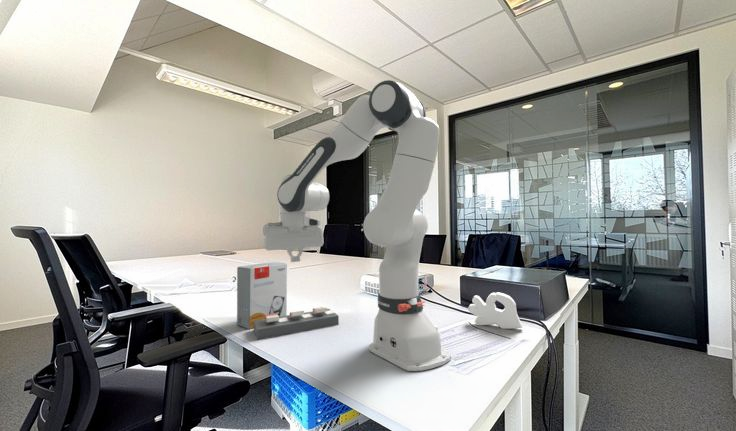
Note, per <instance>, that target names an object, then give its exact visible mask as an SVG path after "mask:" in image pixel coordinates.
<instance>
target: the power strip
mask: <svg viewBox="0 0 736 431" xmlns="http://www.w3.org/2000/svg"><path fill="white" fill-rule="evenodd" d="M339 317H340V316H339V315H338V313H336V312H335V311H334V310H332V309H331V308H327V311H326V312H320V313H314V312H313V310H312V311H307V312H304V315H299V316H290V314H288V315H287V316H281V317H279V321H272V322H267V321H266V320H265V319H262V320H255V321H254V328H253V331H254V334H255V337H256V339H257V341H258V340H259V341H260V340H263V339H264V340H265V339H268V338H274V337H278V336H279V337H280V336H286V335H291V334H294V333H295V334H296V333H301V332H306V331H312V330H317V329H323V328H328V327H333V326H338V325H340V324H339V322H340V320H339Z"/></svg>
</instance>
